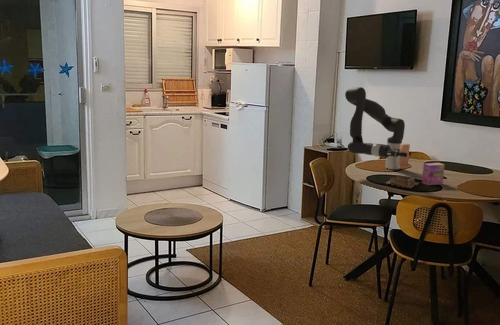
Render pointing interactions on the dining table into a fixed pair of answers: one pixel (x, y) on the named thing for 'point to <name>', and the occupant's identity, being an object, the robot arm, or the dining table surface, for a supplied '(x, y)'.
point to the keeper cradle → (403, 181)
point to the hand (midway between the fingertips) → (408, 154)
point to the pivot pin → (405, 149)
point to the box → (433, 173)
